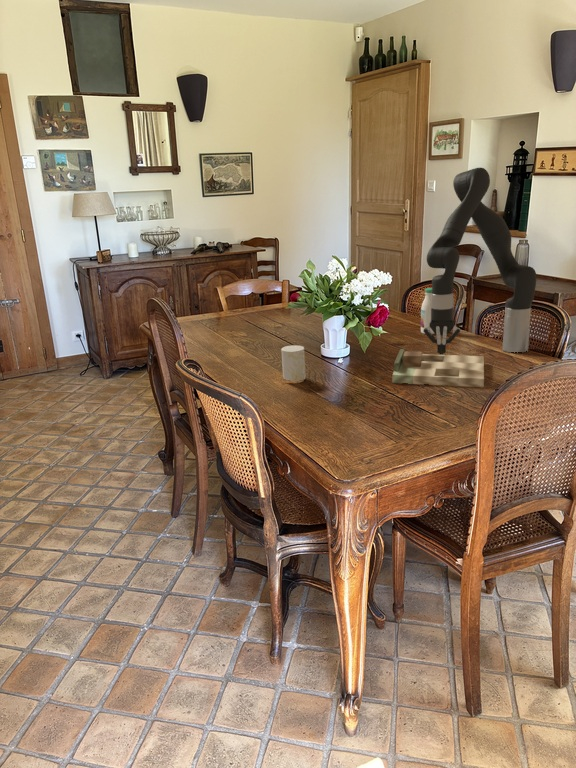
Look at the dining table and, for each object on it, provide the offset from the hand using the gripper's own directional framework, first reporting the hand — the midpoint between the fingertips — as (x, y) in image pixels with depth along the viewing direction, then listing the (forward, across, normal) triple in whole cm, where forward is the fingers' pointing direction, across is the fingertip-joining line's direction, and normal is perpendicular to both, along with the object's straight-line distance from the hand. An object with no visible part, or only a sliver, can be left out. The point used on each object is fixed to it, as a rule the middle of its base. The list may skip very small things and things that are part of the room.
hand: (441, 354), depth 205 cm
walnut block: (+4, +10, 0) cm, 11 cm away
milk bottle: (+8, +8, -58) cm, 59 cm away
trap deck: (+7, +1, 0) cm, 7 cm away
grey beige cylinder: (+6, +51, +15) cm, 53 cm away
